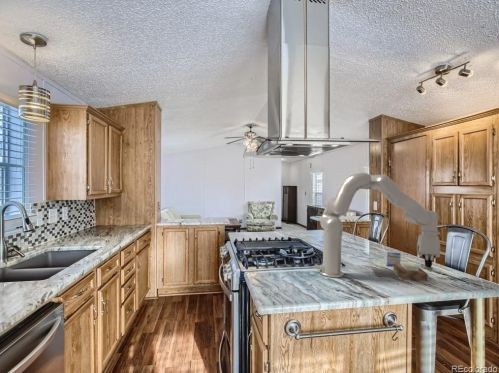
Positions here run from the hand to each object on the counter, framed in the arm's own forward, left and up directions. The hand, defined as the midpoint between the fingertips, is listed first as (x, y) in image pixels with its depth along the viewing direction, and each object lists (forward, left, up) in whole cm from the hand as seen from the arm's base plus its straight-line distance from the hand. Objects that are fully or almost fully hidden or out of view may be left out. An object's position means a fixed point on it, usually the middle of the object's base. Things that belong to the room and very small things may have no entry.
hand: (428, 266), depth 149 cm
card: (-9, 0, -2) cm, 9 cm away
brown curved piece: (-9, 0, -6) cm, 11 cm away
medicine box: (-13, +18, -6) cm, 23 cm away
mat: (-22, 0, -6) cm, 22 cm away
